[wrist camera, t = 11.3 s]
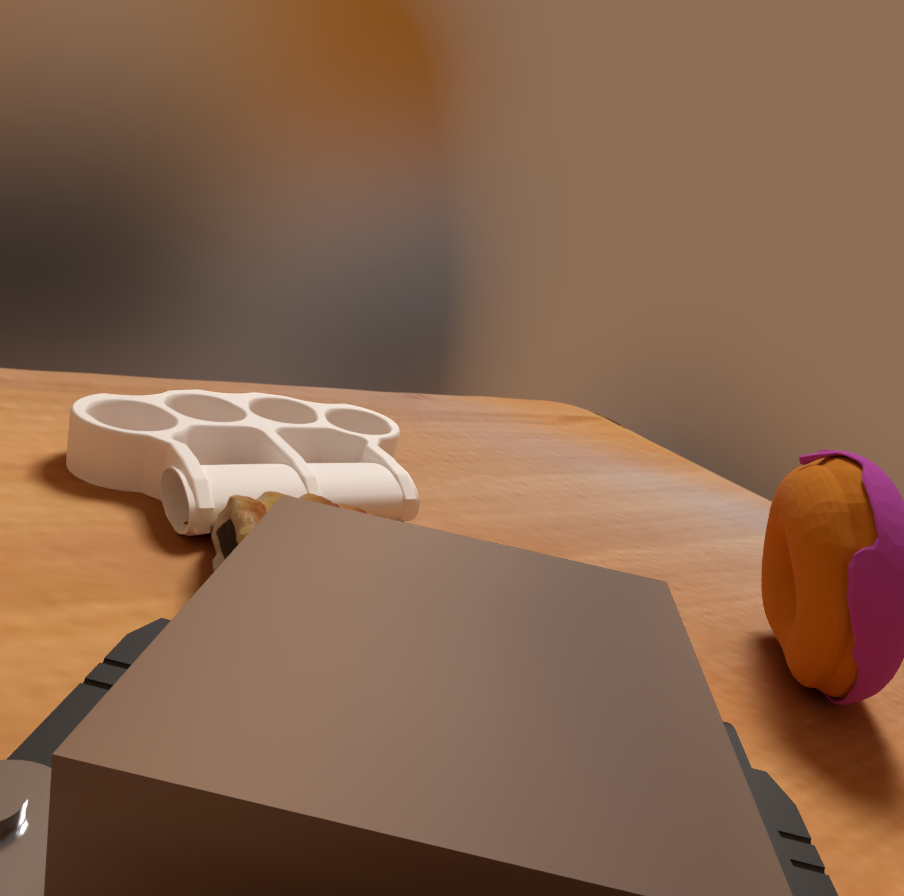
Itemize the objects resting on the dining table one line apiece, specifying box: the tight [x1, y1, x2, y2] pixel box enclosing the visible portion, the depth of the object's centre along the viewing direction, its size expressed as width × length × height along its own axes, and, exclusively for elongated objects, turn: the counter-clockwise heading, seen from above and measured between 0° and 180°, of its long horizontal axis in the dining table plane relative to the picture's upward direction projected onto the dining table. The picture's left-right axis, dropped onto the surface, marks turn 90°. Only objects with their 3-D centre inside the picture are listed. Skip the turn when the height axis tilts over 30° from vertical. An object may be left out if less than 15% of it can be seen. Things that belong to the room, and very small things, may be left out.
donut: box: [762, 450, 904, 705], centre depth 33 cm, size 8×9×10 cm
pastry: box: [211, 491, 376, 572], centre depth 32 cm, size 9×7×4 cm
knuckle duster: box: [66, 390, 419, 536], centre depth 41 cm, size 3×18×15 cm
